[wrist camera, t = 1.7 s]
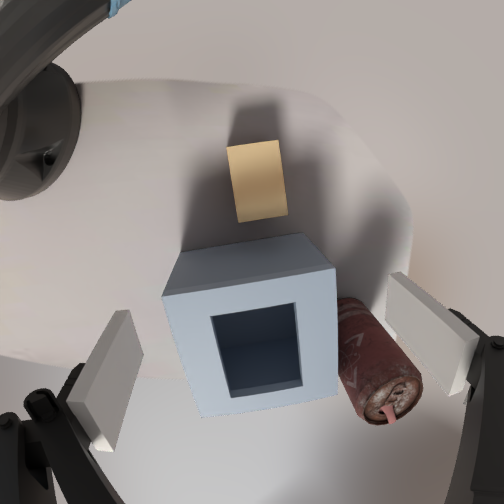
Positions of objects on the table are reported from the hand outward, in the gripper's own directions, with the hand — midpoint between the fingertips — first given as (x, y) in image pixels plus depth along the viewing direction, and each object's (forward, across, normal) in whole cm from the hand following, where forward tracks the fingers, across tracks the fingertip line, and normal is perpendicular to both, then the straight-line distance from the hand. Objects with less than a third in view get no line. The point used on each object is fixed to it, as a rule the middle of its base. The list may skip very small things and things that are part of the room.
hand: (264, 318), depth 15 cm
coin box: (+16, 0, -7) cm, 17 cm away
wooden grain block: (+16, +1, +5) cm, 17 cm away
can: (+16, +10, -11) cm, 22 cm away
